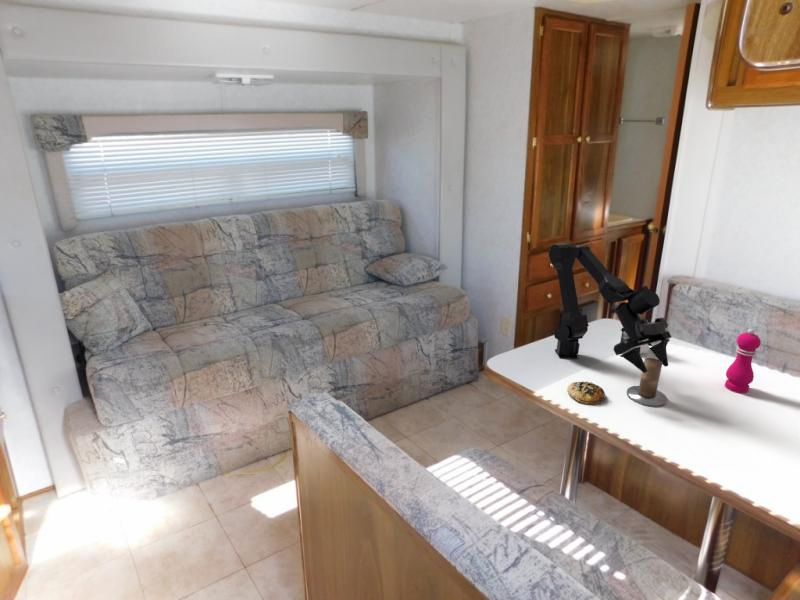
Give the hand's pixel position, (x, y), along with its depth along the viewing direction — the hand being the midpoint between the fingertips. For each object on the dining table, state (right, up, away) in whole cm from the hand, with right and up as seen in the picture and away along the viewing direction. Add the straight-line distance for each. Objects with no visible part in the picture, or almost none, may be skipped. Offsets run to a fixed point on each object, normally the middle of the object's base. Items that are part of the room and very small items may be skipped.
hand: (656, 369), depth 154 cm
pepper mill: (+30, -8, +11) cm, 33 cm away
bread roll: (-19, -9, +5) cm, 22 cm away
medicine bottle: (+10, +2, +37) cm, 38 cm away
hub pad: (-1, -9, +4) cm, 10 cm away
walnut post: (-1, -8, +4) cm, 9 cm away
